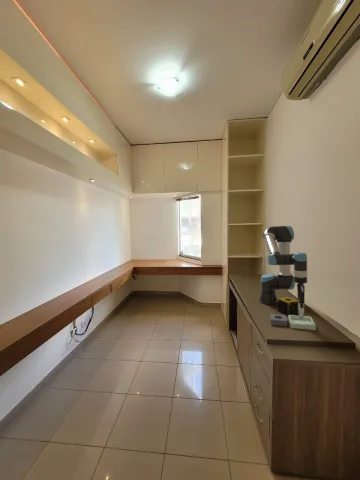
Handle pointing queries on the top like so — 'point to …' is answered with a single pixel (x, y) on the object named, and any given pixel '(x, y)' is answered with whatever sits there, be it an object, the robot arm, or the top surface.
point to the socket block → (278, 319)
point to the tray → (301, 322)
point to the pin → (301, 314)
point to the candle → (288, 306)
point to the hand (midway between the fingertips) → (301, 311)
